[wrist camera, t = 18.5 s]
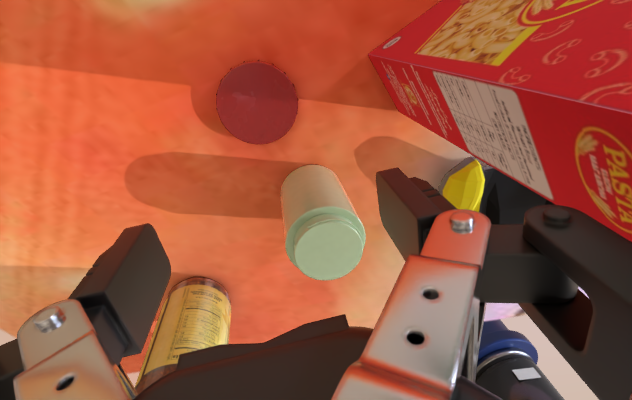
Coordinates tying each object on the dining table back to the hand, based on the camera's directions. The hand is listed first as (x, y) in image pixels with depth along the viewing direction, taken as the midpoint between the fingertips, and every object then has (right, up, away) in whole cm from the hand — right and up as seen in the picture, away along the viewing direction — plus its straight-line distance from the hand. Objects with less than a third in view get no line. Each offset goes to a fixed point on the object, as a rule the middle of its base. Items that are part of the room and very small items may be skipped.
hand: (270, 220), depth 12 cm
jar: (+1, +1, +18) cm, 19 cm away
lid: (-3, +8, +13) cm, 16 cm away
